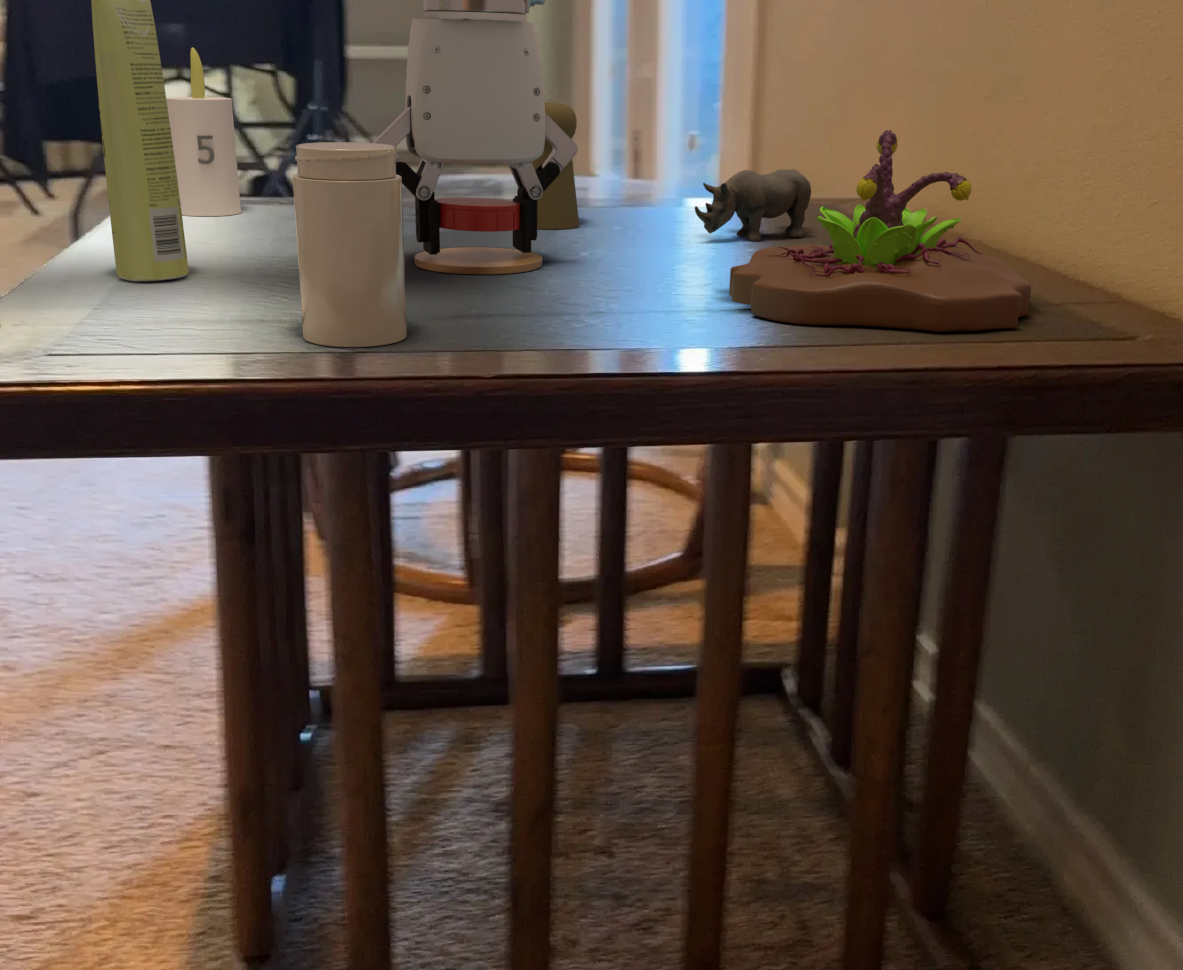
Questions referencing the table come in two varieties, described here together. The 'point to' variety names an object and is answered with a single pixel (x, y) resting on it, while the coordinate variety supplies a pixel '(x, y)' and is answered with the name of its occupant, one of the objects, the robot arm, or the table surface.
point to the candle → (204, 149)
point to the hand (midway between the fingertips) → (477, 249)
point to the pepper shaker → (558, 178)
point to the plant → (884, 268)
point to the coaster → (479, 261)
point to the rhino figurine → (758, 201)
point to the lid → (479, 214)
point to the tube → (137, 143)
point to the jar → (350, 244)
